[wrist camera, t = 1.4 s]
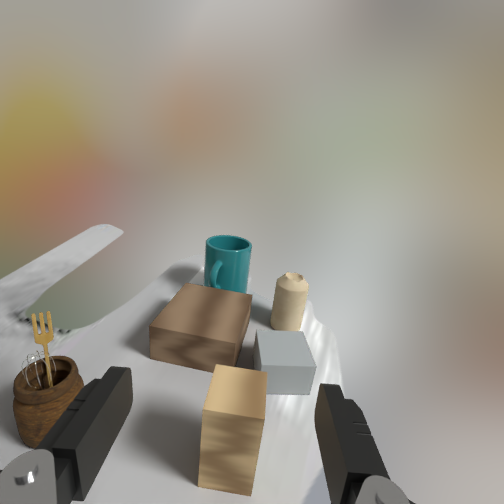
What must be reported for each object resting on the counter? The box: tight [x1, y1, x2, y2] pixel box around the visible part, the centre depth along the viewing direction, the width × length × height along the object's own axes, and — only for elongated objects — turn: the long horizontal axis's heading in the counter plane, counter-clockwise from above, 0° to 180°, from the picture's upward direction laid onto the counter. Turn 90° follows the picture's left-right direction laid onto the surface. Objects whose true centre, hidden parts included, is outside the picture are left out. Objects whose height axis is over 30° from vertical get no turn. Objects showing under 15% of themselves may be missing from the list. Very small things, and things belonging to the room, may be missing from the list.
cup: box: [204, 235, 252, 294], centre depth 57 cm, size 9×12×11 cm
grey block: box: [253, 330, 316, 395], centre depth 40 cm, size 7×7×5 cm
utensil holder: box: [13, 311, 84, 448], centre depth 28 cm, size 6×6×12 cm
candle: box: [270, 272, 309, 331], centre depth 50 cm, size 6×6×10 cm
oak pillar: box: [198, 364, 267, 496], centre depth 27 cm, size 5×5×10 cm
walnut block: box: [149, 283, 252, 373], centre depth 45 cm, size 12×13×6 cm
